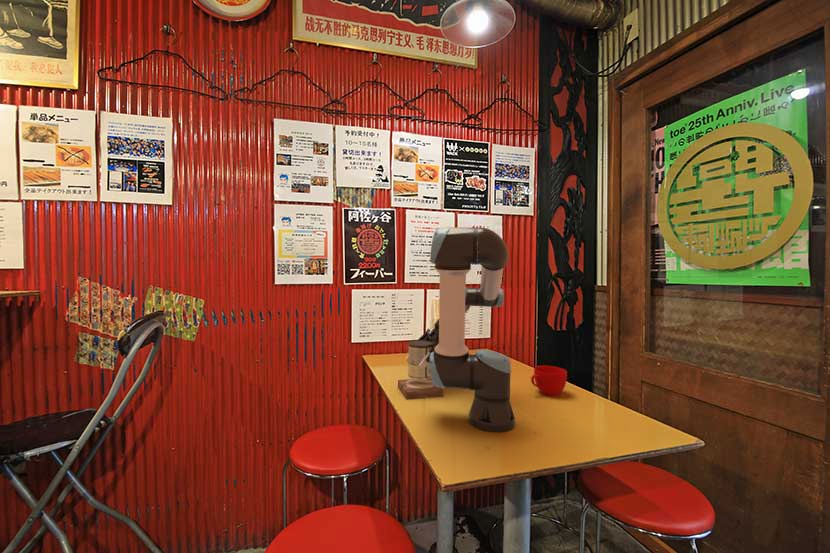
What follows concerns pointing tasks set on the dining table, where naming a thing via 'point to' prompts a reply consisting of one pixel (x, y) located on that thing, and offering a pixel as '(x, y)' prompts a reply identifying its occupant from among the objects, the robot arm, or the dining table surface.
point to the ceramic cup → (549, 379)
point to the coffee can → (418, 359)
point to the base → (419, 389)
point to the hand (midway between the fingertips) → (414, 364)
